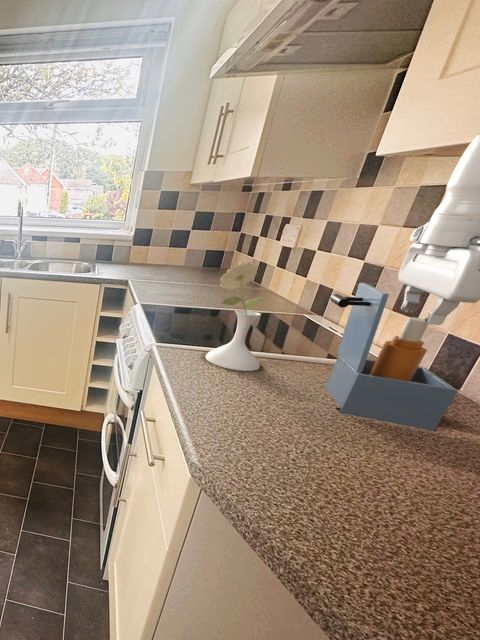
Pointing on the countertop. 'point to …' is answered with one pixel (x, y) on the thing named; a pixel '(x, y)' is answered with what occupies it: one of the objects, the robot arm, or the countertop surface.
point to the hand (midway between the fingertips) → (419, 317)
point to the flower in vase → (236, 351)
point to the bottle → (402, 352)
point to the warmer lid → (360, 323)
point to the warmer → (390, 395)
